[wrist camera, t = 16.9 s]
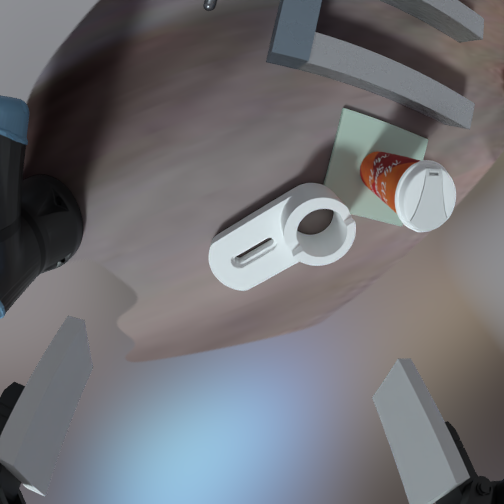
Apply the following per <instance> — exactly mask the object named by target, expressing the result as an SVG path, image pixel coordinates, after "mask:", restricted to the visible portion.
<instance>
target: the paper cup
mask: <svg viewBox="0 0 504 504" xmlns="http://www.w3.org/2000/svg"><path fill="white" fill-rule="evenodd" d="M360 176H361V179H362V181H363V183H364V184H365V185H366V186H367V187H368V188H369V189H370V190H371V191H372V192H373V193H374V194H375V195H376V196H378V197H379V198H380V199H381V200H382V201H383V202H384V203H385V204H387V205H388V206H389V207H390V208H391V209H392V210H393V211H394V212H395V213H396V214H397V215H398V217H399V219H400V220H401V222H402V223H403V224H404V225H405V226H407V227H408V228H410V229H412V230H414V231H416V232H428V231H431V230H433V229H436V228H438V227H439V226H441V225H442V224H443V223H444V222H445V221H446V220H447V219H448V218H449V217H450V215H451V213H452V211H453V209H454V205H455V201H456V189H455V185H454V182H453V180H452V178H451V176H450V175H449V174H448V172H447V171H446V169H445V168H444V167H443V166H442V165H441V164H439V163H437V162H435V161H431V160H423V161H420V160H416V159H413V158H409V157H405V156H400V155H396V154H391V153H386V152H379V151H378V152H372V153H370V154H368V155H367V156H366V157H365V158H364V159H363V161H362V163H361V166H360Z"/></svg>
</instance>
